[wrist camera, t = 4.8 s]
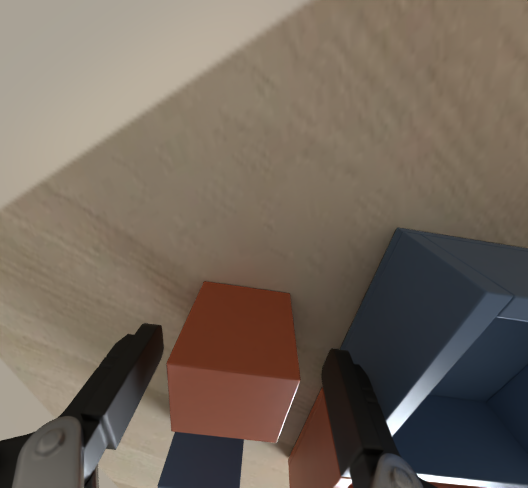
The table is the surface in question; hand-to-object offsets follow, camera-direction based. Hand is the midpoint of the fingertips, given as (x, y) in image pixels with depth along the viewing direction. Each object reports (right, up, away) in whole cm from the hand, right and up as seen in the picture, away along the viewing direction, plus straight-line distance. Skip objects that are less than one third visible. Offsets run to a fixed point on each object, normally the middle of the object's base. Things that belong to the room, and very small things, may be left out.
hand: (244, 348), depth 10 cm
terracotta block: (0, +1, +2) cm, 2 cm away
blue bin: (+12, 0, +2) cm, 12 cm away
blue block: (-3, -9, +7) cm, 12 cm away
